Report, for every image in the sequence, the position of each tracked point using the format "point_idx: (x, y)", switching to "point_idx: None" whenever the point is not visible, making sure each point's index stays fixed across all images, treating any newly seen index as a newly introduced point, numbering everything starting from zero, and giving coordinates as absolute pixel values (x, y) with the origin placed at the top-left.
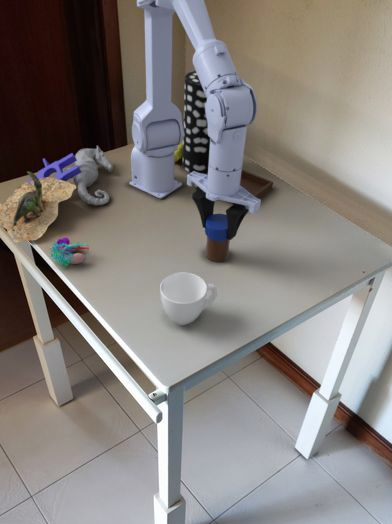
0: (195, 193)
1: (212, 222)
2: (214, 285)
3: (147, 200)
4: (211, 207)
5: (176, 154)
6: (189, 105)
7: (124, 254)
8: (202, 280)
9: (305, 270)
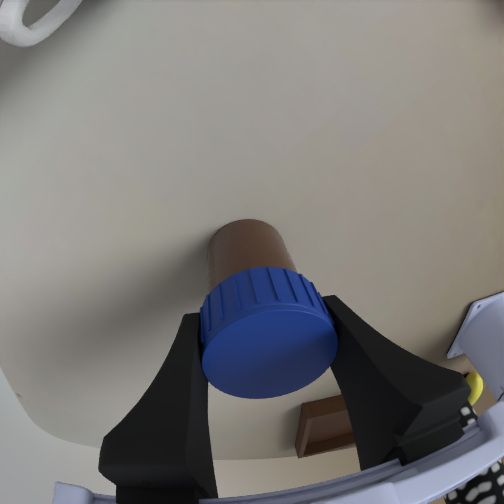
0: (456, 405)
1: (296, 336)
2: (5, 34)
3: (490, 279)
4: (348, 389)
5: (473, 386)
6: (497, 471)
7: (462, 69)
8: None
9: (53, 354)
